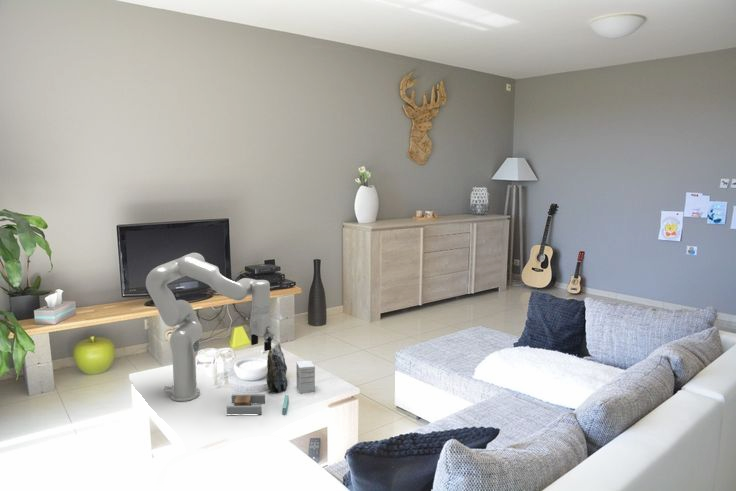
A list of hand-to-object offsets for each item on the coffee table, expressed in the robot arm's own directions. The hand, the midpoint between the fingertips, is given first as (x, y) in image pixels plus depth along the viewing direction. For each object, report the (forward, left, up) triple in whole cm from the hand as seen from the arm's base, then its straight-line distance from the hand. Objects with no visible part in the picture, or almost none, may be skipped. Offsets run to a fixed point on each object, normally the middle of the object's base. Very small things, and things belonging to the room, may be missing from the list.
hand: (261, 347), depth 224 cm
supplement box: (+19, +10, -25) cm, 33 cm away
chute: (-5, -8, -24) cm, 26 cm away
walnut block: (-7, -8, -25) cm, 27 cm away
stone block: (+6, +15, -25) cm, 30 cm away
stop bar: (+11, -8, -24) cm, 28 cm away
